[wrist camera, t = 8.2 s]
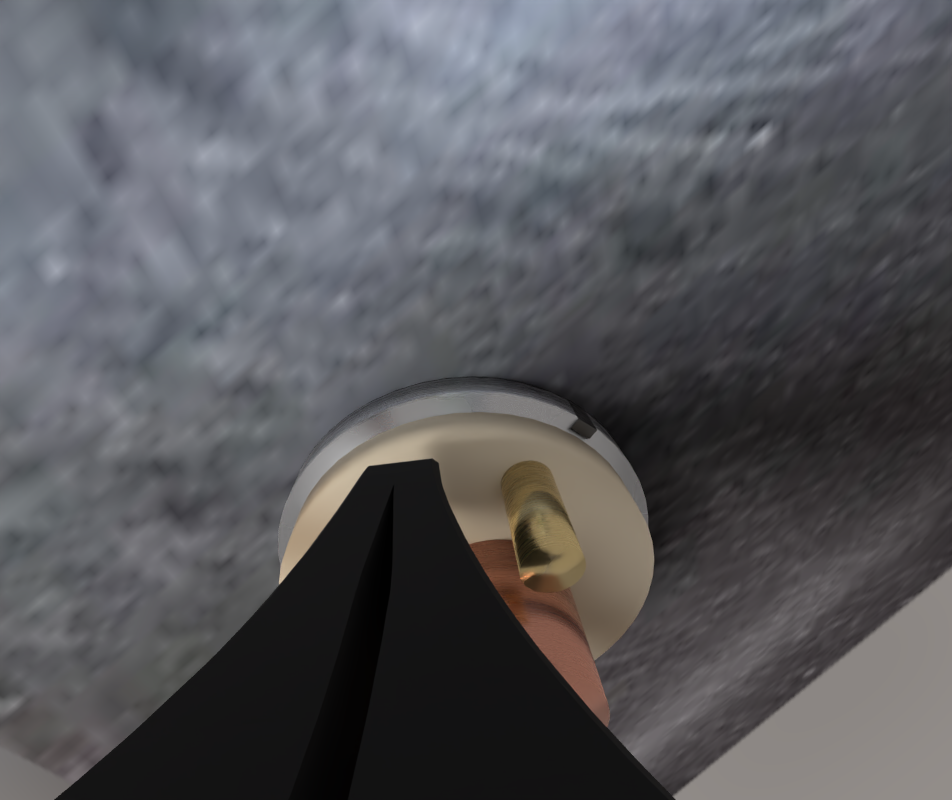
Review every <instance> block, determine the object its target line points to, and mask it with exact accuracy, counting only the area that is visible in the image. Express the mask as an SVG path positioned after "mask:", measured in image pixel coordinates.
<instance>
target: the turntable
mask: <svg viewBox="0 0 952 800" xmlns="http://www.w3.org/2000/svg"><path fill="white" fill-rule="evenodd" d="M431 458H433V459H434V460H435V461H437V462H438V463H439V468H440V474H441V481H442V485H443V488H444V491H445V494H446V497H447V499H448V502H449V504H450V507H451V509H452V511H453V513H454V515H455V518H456V520H457V522H458V524H459V526H460V528H461V530H462V532H463V534H464V536H465V538H466V540H467V541H468V543H469V544H472V543H476V542H481V541H486V540H512V542H513V547H514V551H515V556H516V561H517V565H518V570H519V575H520V578H521V581H522V582H523V584H524V585H525V586H526V587H528V588H529V589H531V590H533V591H536V592H541V593H553V592H558V591H562V590H565V589H567V588H569V587H570V589H571V592H572V595H573V598H574V601H575V604H576V607H577V610H578V613H579V616H580V619H581V622H582V625H583V629H584V632H585V635H586V638H587V641H588V644H589V647H590V650H591V653H592V656H593V659H594V660H596V659H597V658H598V657H599V656H601V655H602V654H603V653H604V652H606V651H607V650H608V649H609V648H610V647H611V646H612V645H613V644H614V643H615V642H616V641H617V640H619V639H620V638H621V637H622V635H623V634H624V633H625V632H626V630H627V629H628V628H629V627H630V625H631V624H632V623H633V621H634V620H635V618H636V617H637V615H638V613H639V612H640V610H641V608H642V606H643V604H644V602H645V599H646V597H647V595H648V593H649V589H650V585H651V581H652V577H653V568H654V551H653V542H652V538H651V535H650V532H649V528H648V525H647V523H646V521H645V519H644V517H643V515H642V513H641V511H640V510H639V508H638V506H637V504H636V503H635V501H634V499H633V498H632V496H631V494H630V493H629V491H628V489H627V488H626V486H625V484H624V483H623V481H622V479H621V478H620V476H619V475H618V474H617V472H616V471H615V470H614V469H613V467H612V466H611V465H610V463H609V462H608V461H607V460H606V459H605V458H603V457H602V456H601V455H600V454H599V453H598V452H597V451H596V450H595V449H594V448H592V447H591V446H589V445H588V444H586V443H585V442H583V441H582V440H580V439H579V438H578V437H576V436H574V435H572V434H570V433H568V432H566V431H564V430H562V429H560V428H558V427H555V426H552V425H549V424H546V423H543V422H540V421H537V420H534V419H530V418H525V417H520V416H515V415H510V414H500V413H488V412H471V413H453V414H446V415H440V416H433V417H428V418H424V419H420V420H417V421H413V422H409V423H406V424H403V425H400V426H398V427H395V428H393V429H390V430H388V431H385V432H383V433H380V434H378V435H376V436H375V437H373V438H371V439H369V440H367V441H366V442H364V443H362V444H360V445H358V446H357V447H355V448H354V449H353V450H351V451H350V452H349V453H347V454H346V455H345V456H343V457H342V458H341V459H339V460H338V461H337V462H336V463H335V464H334V465H333V466H332V467H331V468H330V469H329V470H328V471H327V472H326V473H325V474H324V475H323V476H322V477H321V478H320V480H319V481H318V482H317V484H316V485H315V486H314V488H313V489H312V490H311V492H310V493H309V495H308V497H307V499H306V501H305V503H304V504H303V506H302V508H301V510H300V513H299V515H298V518H297V521H296V523H295V526H294V529H293V531H292V534H291V537H290V539H289V542H288V545H287V548H286V551H285V554H284V557H283V560H282V564H281V571H280V579H279V584H280V583H281V582H282V581H283V580H284V578H285V577H286V576H287V575H288V574H289V572H290V571H291V570H292V569H293V567H294V566H295V565H296V564H297V563H298V561H299V560H300V559H301V558H302V556H303V555H304V554H305V553H306V551H307V550H308V549H309V548H310V546H311V545H312V544H313V542H314V541H315V540H316V538H317V537H318V535H319V534H320V533H321V531H322V530H323V529H324V527H325V526H326V525H327V523H328V522H329V521H330V519H331V518H332V517H333V515H334V514H335V512H336V511H337V510H338V508H339V507H340V505H341V504H342V502H343V501H344V500H345V498H346V497H347V495H348V494H349V492H350V491H351V489H352V488H353V486H354V485H355V483H356V482H357V480H358V479H359V477H360V476H361V475H362V473H363V472H364V471H365V469H366V468H367V467H368V466H372V465H381V464H389V463H397V462H406V461H414V460H422V459H431Z"/></svg>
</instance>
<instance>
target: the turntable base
mask: <svg viewBox="0 0 952 800" xmlns="http://www.w3.org/2000/svg"><path fill="white" fill-rule="evenodd" d="M471 412H488V413H500V414H510V415H515V416H520V417H525V418H530V419H534V420H537V421H540V422H543V423H546V424H549V425H552V426H555V427H558V428H560V429H562V430H564V431H566V432H568V433H570V434H572V435H574V436H576V437H578V438H579V439H580V440H582V441H583V442H585V443H586V444H588V445H589V446H591V447H592V448H594V449H595V450H596V451H597V452H598V453H599V454H600V455H601V456H602V457H603V458H605V459H606V460H607V461H608V462H609V463H610V465H611V466H612V467H613V469H614V470H615V471H616V472H617V474H618V475H619V476H620V478H621V479H622V481H623V483H624V484H625V486H626V488H627V489H628V491H629V493H630V494H631V496H632V498H633V499H634V501H635V503H636V504H637V506H638V508H639V510H640V511H641V513H642V515H643V517H644V519H645V521H646V523H647V525H648V511H647V505H646V498H645V495H644V492H643V490H642V487H641V484H640V481H639V479H638V477H637V475H636V474H635V472H634V470H633V468H632V466H631V465H630V463H629V461H628V460H627V458H626V457H625V455H624V454H623V452H622V451H621V449H620V448H619V446H618V445H617V443H616V442H615V441H614V439H613V438H612V437H611V436H610V434H609V433H608V432H607V431H606V429H605V428H604V427H603V426H602V425H601V424H600V423H598V422H597V421H596V420H595V419H594V418H593V417H592V416H591V415H590V414H588V413H587V412H586V411H585V410H584V409H582V408H581V407H579V406H577V405H576V404H574V403H573V402H571V401H569V400H566V399H564V398H562V397H560V396H558V395H556V394H554V393H552V392H550V391H547V390H544V389H541V388H538V387H534V386H531V385H528V384H525V383H520V382H514V381H509V380H504V379H496V378H479V377H466V378H449V379H442V380H436V381H430V382H425V383H419V384H416V385H413V386H410V387H406V388H403V389H400V390H397V391H393V392H391V393H389V394H387V395H385V396H382V397H380V398H378V399H376V400H373V401H371V402H369V403H368V404H366V405H364V406H363V407H361V408H359V409H358V410H356V411H354V412H353V413H351V414H350V415H348V416H347V417H346V418H344V419H343V420H342V421H341V422H340V423H338V424H337V425H336V426H335V427H333V428H332V429H331V430H330V431H329V432H328V433H327V434H326V435H325V436H324V437H323V438H322V440H321V441H320V442H319V443H318V444H317V445H316V446H315V447H314V449H313V450H312V452H311V453H310V455H309V456H308V458H307V459H306V461H305V462H304V464H303V465H302V467H301V470H300V472H299V474H298V476H297V479H296V481H295V483H294V485H293V488H292V490H291V492H290V495H289V497H288V499H287V502H286V504H285V506H284V509H283V513H282V517H281V521H280V525H279V535H278V553H279V561H280V567H281V564H282V560H283V557H284V554H285V551H286V548H287V545H288V542H289V539H290V537H291V534H292V531H293V529H294V526H295V523H296V521H297V518H298V515H299V513H300V510H301V508H302V506H303V504H304V503H305V501H306V499H307V497H308V495H309V493H310V492H311V490H312V489H313V488H314V486H315V485H316V484H317V482H318V481H319V480H320V478H321V477H322V476H323V475H324V474H325V473H326V472H327V471H328V470H329V469H330V468H331V467H332V466H333V465H334V464H335V463H336V462H337V461H338V460H339V459H341V458H342V457H343V456H345V455H346V454H347V453H349V452H350V451H351V450H353V449H354V448H355V447H357V446H358V445H360V444H362V443H364V442H366V441H367V440H369V439H371V438H373V437H375V436H376V435H378V434H380V433H383V432H385V431H388V430H390V429H393V428H395V427H398V426H400V425H403V424H406V423H409V422H413V421H417V420H420V419H424V418H428V417H433V416H440V415H446V414H453V413H471Z"/></svg>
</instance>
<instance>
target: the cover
mask: <svg viewBox="0 0 952 800" xmlns="http://www.w3.org/2000/svg"><path fill="white" fill-rule="evenodd" d="M469 545H470V547H471V549H472V551H473V552H474V554H475V556H476V557H477V559H478V561H479V562H480V564H481V566H482V567H483V569H484V571H485V572H486V574H487V576H488V577H489V579H490V580H491V582H492V583H493V585H494V586H495V588H496V590H497V591H498V593H499V594H500V596H501V597H502V598H503V600H504V601H505V603H506V604H507V606H508V607H509V608H510V610H511V611H512V613H513V614H514V615H515V617H516V618H517V620H518V621H519V622H520V624H521V625H522V626H523V628H524V629H525V630H526V632H527V633H528V634H529V636H530V637H531V638H532V640H533V641H534V642H535V644H536V645H537V646H538V647H539V649H540V650H541V651H542V652H543V654H544V655H545V656H546V657H547V658H548V660H549V661H550V662H551V663H552V664H553V665H554V667H555V668H556V669H557V670H558V671H559V673H560V674H561V675H562V676H563V677H564V679H565V680H566V681H567V682H568V683H569V685H570V686H571V687H572V688H573V689H574V690H575V692H576V693H577V694H578V695H579V696H580V698H581V699H582V700H583V701H584V702H585V704H586V705H587V706H588V707H589V708H590V709H591V711H592V712H593V713H594V714H595V715H596V716H597V717H598V718H599V719H600V720H601V722H602V723H603V724H604V725H605V726H606V727H607V726H608V724H609V719H610V709H609V706H608V702H607V699H606V696H605V693H604V690H603V687H602V684H601V681H600V678H599V675H598V671H597V668H596V665H595V662H594V659H593V656H592V653H591V650H590V647H589V644H588V641H587V638H586V635H585V632H584V629H583V625H582V622H581V619H580V616H579V613H578V610H577V607H576V604H575V601H574V598H573V595H572V592H571V589H570V587H569V588H567V589H565V590H562V591H558V592H553V593H541V592H536V591H533V590H531V589H529V588H528V587H526V586H525V585H524V584H523V582H522V581H521V578H520V575H519V570H518V565H517V561H516V556H515V551H514V547H513V542H512V540H486V541H481V542H476V543H472V544H469Z"/></svg>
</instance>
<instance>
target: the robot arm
mask: <svg viewBox="0 0 952 800" xmlns="http://www.w3.org/2000/svg"><path fill="white" fill-rule="evenodd" d="M55 800H675V799H674V798H673V797H672V795H671V794H670V793H669V792H668V791H667V790H666V789H665V788H664V787H663V786H662V785H661V784H660V783H659V782H658V781H657V780H656V779H655V778H654V777H653V776H652V775H651V774H650V773H649V772H648V771H647V770H646V769H645V768H644V767H643V766H642V765H641V764H640V763H639V762H638V760H637V759H636V758H635V757H634V756H633V755H632V754H631V753H630V752H629V751H628V750H627V749H626V748H625V747H624V745H623V744H622V743H621V742H620V741H619V740H618V739H617V738H616V737H615V736H614V735H613V733H612V732H611V731H610V730H609V729H608V728H607V727H606V726H605V725H604V724H603V723H602V722H601V720H600V719H599V718H598V717H597V716H596V715H595V714H594V713H593V712H592V711H591V709H590V708H589V707H588V706H587V705H586V704H585V702H584V701H583V700H582V699H581V698H580V696H579V695H578V694H577V693H576V692H575V690H574V689H573V688H572V687H571V686H570V685H569V683H568V682H567V681H566V680H565V679H564V677H563V676H562V675H561V674H560V673H559V671H558V670H557V669H556V668H555V667H554V665H553V664H552V663H551V662H550V661H549V660H548V658H547V657H546V656H545V655H544V654H543V652H542V651H541V650H540V649H539V647H538V646H537V645H536V644H535V642H534V641H533V640H532V638H531V637H530V636H529V634H528V633H527V632H526V630H525V629H524V628H523V626H522V625H521V624H520V622H519V621H518V620H517V618H516V617H515V615H514V614H513V613H512V611H511V610H510V608H509V607H508V606H507V604H506V603H505V601H504V600H503V598H502V597H501V596H500V594H499V593H498V591H497V590H496V588H495V586H494V585H493V583H492V582H491V580H490V579H489V577H488V576H487V574H486V572H485V571H484V569H483V567H482V566H481V564H480V562H479V561H478V559H477V557H476V556H475V554H474V552H473V551H472V549H471V547H470V545H469V543H468V541H467V540H466V538H465V536H464V534H463V532H462V530H461V528H460V526H459V524H458V522H457V520H456V518H455V515H454V513H453V511H452V509H451V507H450V504H449V502H448V499H447V497H446V494H445V491H444V488H443V485H442V481H441V474H440V468H439V463H438V462H437V461H435V460H434V459H433V458H431V459H422V460H414V461H406V462H397V463H389V464H381V465H372V466H368V467H367V468H366V469H365V471H364V472H363V473H362V475H361V476H360V477H359V479H358V480H357V482H356V483H355V485H354V486H353V488H352V489H351V491H350V492H349V494H348V495H347V497H346V498H345V500H344V501H343V502H342V504H341V505H340V507H339V508H338V510H337V511H336V512H335V514H334V515H333V517H332V518H331V519H330V521H329V522H328V523H327V525H326V526H325V527H324V529H323V530H322V531H321V533H320V534H319V535H318V537H317V538H316V540H315V541H314V542H313V544H312V545H311V546H310V548H309V549H308V550H307V551H306V553H305V554H304V555H303V556H302V558H301V559H300V560H299V561H298V563H297V564H296V565H295V566H294V567H293V569H292V570H291V571H290V572H289V574H288V575H287V576H286V577H285V578H284V580H283V581H282V582H281V583H280V584H279V586H278V587H277V588H276V589H275V591H274V592H273V593H272V594H271V595H270V596H269V598H268V599H267V600H266V601H265V602H264V603H263V604H262V605H261V607H260V608H259V609H258V610H257V611H256V612H255V613H254V614H253V616H252V617H251V618H250V619H249V620H248V621H247V622H246V623H245V624H244V625H243V626H242V628H241V629H240V630H239V631H238V632H237V633H236V634H235V635H234V636H233V637H232V638H231V639H230V640H229V641H228V642H227V643H226V644H225V645H224V646H223V647H222V648H221V650H220V651H219V652H218V653H217V654H216V655H215V656H214V657H213V658H212V659H211V660H210V661H209V662H208V663H207V664H206V665H205V666H203V667H202V668H201V669H200V670H199V671H198V672H197V673H196V674H195V675H194V676H193V677H192V678H191V679H190V680H188V681H187V682H186V683H185V684H184V685H183V686H182V687H181V688H180V689H179V690H178V691H177V692H176V693H175V694H174V695H172V696H171V697H170V698H169V699H168V700H167V701H166V702H165V703H164V704H163V705H162V706H161V707H160V708H159V709H157V710H156V711H155V712H154V713H153V714H152V715H151V716H150V717H149V718H148V719H147V720H146V721H145V722H144V723H142V724H141V725H140V726H139V727H138V728H137V729H136V730H135V731H134V732H133V733H132V734H130V735H129V736H128V737H127V738H126V739H125V740H124V741H123V742H121V743H120V744H119V745H118V746H117V747H116V748H114V749H113V750H112V751H111V752H110V753H109V754H108V755H106V756H105V757H104V758H103V759H102V760H101V761H99V762H98V763H97V764H96V765H95V766H94V767H92V768H91V769H90V770H89V771H88V772H87V773H86V774H84V775H83V776H82V777H81V778H80V779H79V780H77V781H76V782H75V783H74V784H73V785H71V786H70V787H69V788H68V789H67V790H65V791H64V792H63V793H62V794H61V795H59V796H58V797H57V798H56V799H55Z"/></svg>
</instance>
